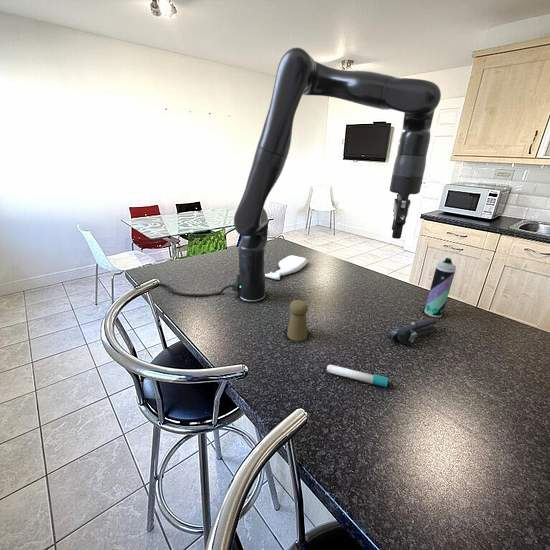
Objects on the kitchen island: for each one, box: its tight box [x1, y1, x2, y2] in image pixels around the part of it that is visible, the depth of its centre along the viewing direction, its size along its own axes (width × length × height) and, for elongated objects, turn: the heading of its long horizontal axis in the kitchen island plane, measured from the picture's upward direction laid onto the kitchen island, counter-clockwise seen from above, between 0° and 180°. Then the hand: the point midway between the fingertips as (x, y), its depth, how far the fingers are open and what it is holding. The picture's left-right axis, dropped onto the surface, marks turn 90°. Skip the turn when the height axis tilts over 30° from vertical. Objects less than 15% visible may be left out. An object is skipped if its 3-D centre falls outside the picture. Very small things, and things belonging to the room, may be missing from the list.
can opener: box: [387, 318, 438, 346], centre depth 86 cm, size 18×7×6 cm, turn 117°
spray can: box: [424, 257, 457, 318], centre depth 95 cm, size 6×6×20 cm
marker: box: [326, 364, 389, 388], centre depth 70 cm, size 14×2×2 cm, turn 70°
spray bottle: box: [265, 254, 308, 281], centre depth 130 cm, size 3×11×24 cm
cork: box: [286, 299, 309, 342], centre depth 84 cm, size 6×6×11 cm
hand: (395, 234), depth 83 cm, fingers open, 8 cm apart
